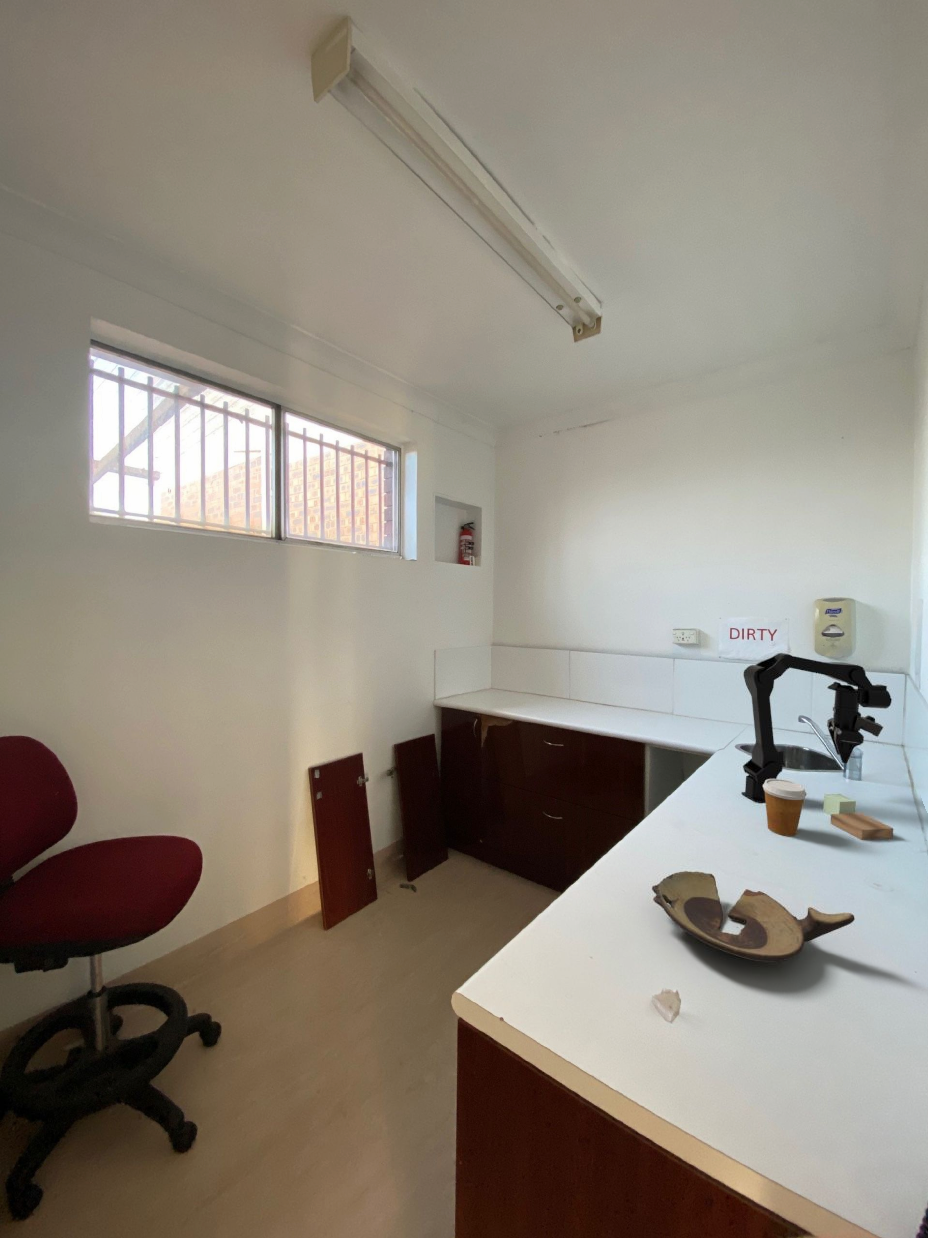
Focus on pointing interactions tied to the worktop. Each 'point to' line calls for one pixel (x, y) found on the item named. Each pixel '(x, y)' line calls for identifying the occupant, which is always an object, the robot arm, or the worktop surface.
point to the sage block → (838, 804)
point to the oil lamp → (741, 918)
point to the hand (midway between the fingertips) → (841, 758)
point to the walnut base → (861, 826)
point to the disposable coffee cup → (783, 805)
